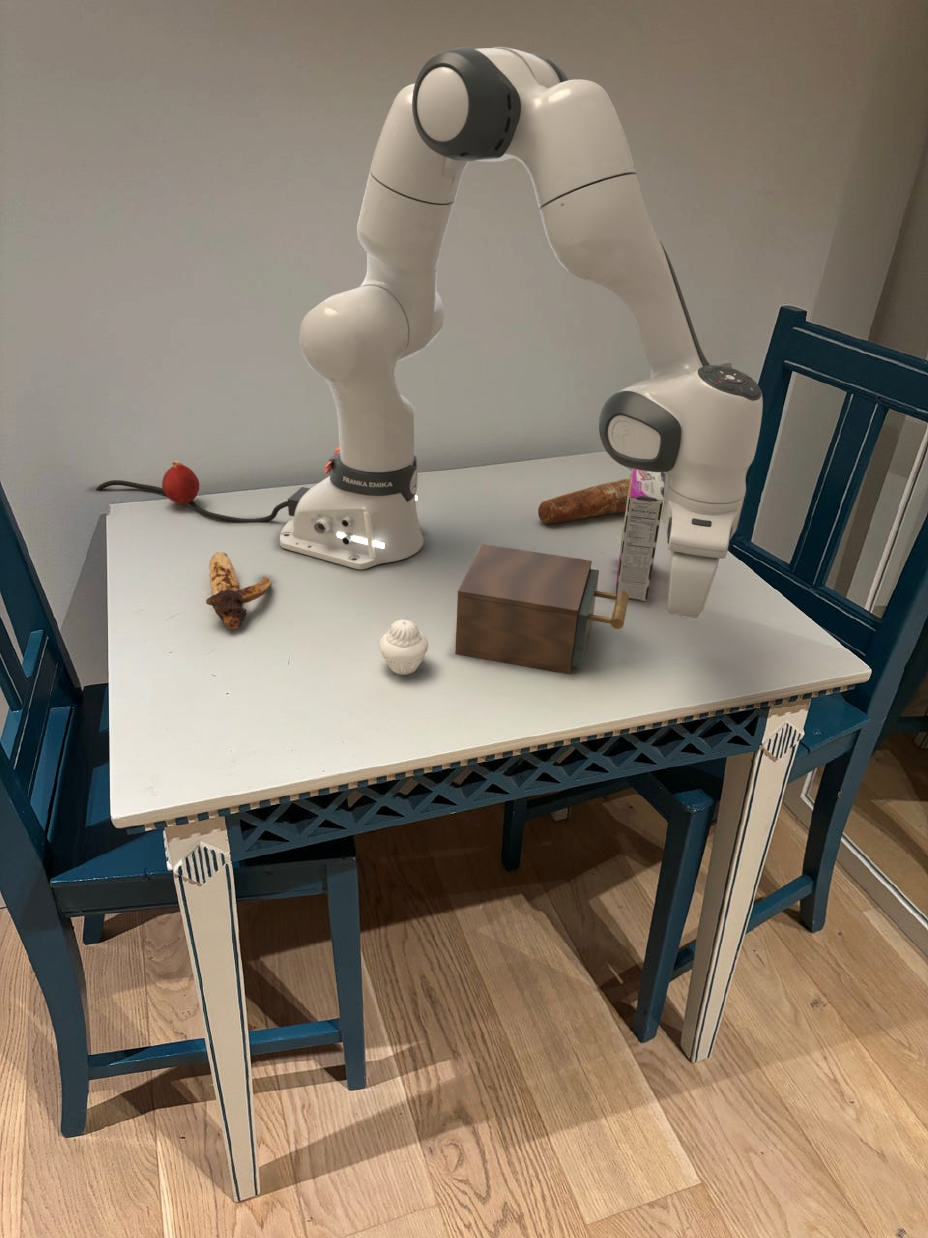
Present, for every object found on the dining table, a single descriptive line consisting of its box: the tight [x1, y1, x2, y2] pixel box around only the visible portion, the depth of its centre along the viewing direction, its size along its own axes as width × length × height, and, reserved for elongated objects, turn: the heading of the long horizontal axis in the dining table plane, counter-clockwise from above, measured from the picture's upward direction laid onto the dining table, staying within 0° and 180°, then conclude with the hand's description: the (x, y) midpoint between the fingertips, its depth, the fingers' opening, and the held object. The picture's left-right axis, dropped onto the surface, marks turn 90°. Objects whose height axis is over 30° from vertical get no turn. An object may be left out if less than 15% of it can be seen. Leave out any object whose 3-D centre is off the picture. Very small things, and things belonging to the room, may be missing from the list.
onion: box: [161, 460, 200, 507], centre depth 147 cm, size 6×6×8 cm
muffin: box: [378, 618, 429, 676], centre depth 111 cm, size 6×6×7 cm
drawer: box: [572, 568, 630, 668], centre depth 117 cm, size 18×12×8 cm, turn 76°
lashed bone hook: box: [205, 551, 272, 630], centre depth 124 cm, size 9×5×18 cm
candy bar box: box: [615, 468, 666, 602], centre depth 129 cm, size 11×5×16 cm, turn 168°
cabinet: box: [454, 543, 593, 675], centre depth 117 cm, size 15×13×10 cm
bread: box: [537, 477, 631, 525], centre depth 151 cm, size 6×19×6 cm, turn 113°
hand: (679, 609), depth 112 cm, fingers closed
